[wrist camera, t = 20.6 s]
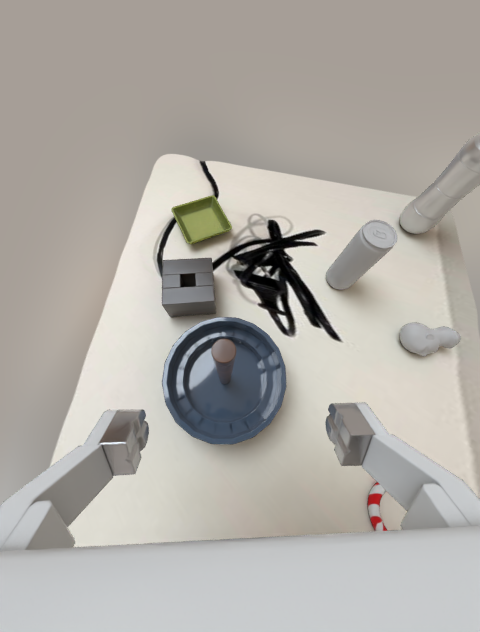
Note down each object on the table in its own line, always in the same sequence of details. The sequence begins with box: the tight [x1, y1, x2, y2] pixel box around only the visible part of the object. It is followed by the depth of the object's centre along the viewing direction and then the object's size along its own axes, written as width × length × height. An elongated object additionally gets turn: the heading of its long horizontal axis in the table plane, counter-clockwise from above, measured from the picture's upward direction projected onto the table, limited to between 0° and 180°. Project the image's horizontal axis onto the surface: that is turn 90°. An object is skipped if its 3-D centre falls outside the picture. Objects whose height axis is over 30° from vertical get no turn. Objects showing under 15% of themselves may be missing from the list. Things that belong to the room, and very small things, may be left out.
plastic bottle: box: [400, 132, 480, 234], centre depth 37 cm, size 6×7×20 cm
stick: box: [211, 339, 236, 384], centre depth 24 cm, size 2×2×20 cm
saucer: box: [171, 196, 232, 244], centre depth 42 cm, size 9×9×2 cm
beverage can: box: [326, 220, 397, 290], centre depth 35 cm, size 5×5×12 cm
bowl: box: [162, 317, 286, 444], centre depth 31 cm, size 15×15×6 cm
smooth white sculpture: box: [400, 323, 461, 356], centre depth 36 cm, size 4×8×5 cm
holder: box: [162, 258, 216, 317], centre depth 36 cm, size 7×7×5 cm
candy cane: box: [368, 482, 387, 531], centre depth 28 cm, size 8×1×15 cm
